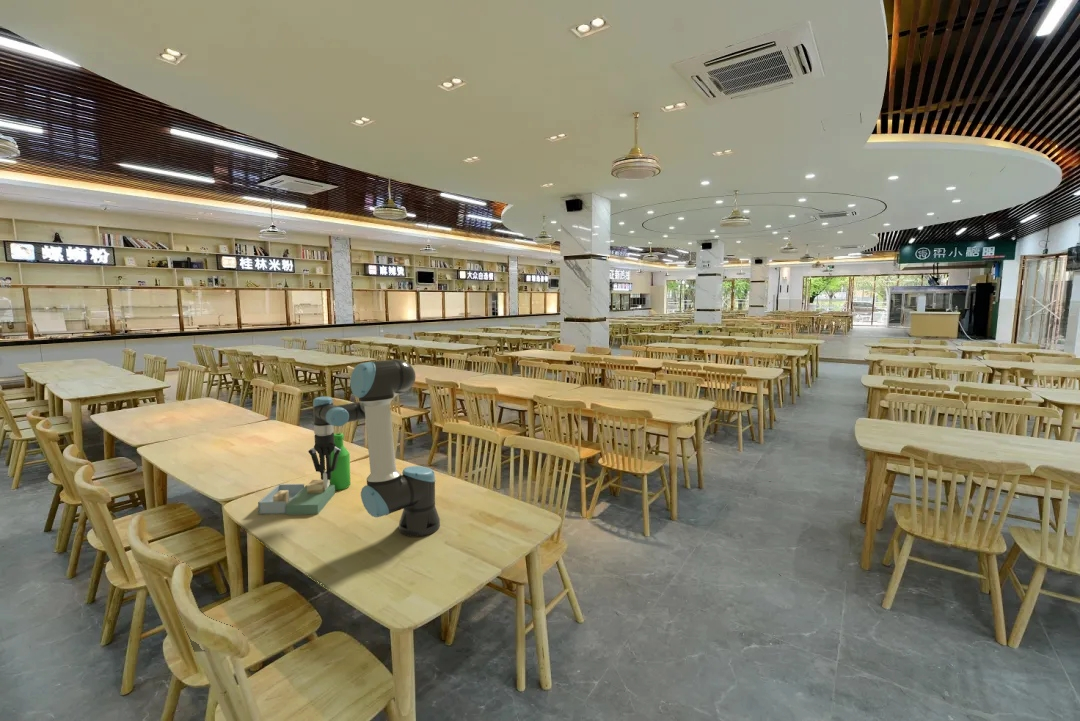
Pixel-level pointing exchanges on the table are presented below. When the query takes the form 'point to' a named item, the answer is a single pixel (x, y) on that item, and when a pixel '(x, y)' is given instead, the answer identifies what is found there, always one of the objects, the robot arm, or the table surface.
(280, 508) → the tray
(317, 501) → the board
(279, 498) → the tile
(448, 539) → the table surface
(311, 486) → the wooden block stack
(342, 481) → the bottle
